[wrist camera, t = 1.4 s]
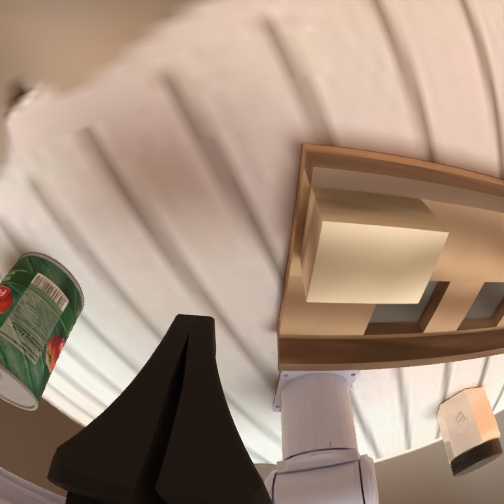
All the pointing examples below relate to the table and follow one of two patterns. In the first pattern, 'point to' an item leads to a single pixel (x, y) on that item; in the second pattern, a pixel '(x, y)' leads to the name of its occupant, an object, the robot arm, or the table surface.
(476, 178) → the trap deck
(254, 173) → the table surface
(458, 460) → the jar
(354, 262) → the maple block
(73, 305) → the canned tomato
